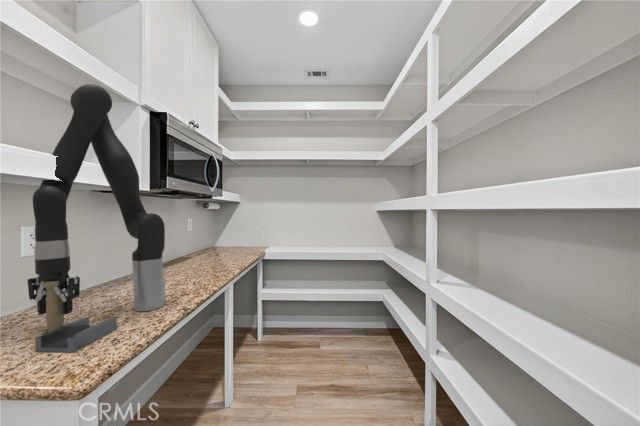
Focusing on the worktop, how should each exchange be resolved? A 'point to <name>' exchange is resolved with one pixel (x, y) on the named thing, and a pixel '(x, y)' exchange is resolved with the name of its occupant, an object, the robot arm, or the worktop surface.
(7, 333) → the worktop surface
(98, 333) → the floor track
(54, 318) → the handle
